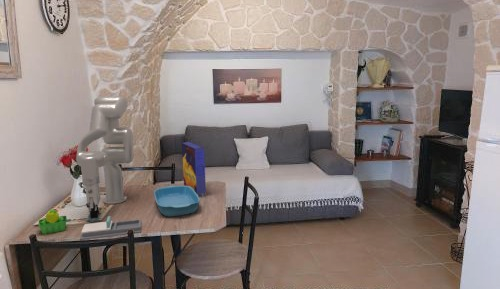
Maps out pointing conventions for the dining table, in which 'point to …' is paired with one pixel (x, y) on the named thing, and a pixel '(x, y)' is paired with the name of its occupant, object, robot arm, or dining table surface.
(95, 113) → the robot arm
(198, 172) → the cereal box
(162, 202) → the casserole dish
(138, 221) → the dock
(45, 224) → the fruit basket
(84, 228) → the shutter lid
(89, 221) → the push button
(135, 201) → the dining table surface
